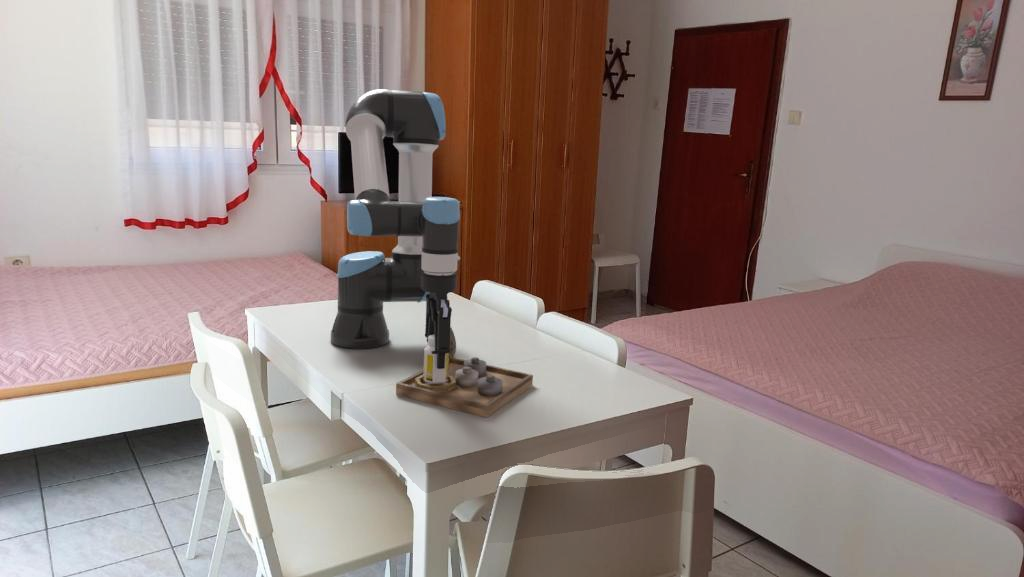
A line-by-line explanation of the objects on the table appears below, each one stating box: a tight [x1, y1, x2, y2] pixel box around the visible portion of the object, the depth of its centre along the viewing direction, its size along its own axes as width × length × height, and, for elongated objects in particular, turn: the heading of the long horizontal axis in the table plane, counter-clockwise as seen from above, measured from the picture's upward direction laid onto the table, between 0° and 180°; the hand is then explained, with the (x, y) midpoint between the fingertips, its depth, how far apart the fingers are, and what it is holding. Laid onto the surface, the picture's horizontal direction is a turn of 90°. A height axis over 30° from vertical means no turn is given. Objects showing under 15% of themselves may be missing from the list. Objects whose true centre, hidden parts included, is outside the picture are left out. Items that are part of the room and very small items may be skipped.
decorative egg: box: [449, 326, 457, 358], centre depth 171 cm, size 6×6×10 cm
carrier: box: [395, 356, 534, 418], centre depth 154 cm, size 22×22×5 cm
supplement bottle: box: [423, 335, 449, 384], centre depth 151 cm, size 5×5×10 cm
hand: (435, 376), depth 152 cm, fingers closed on supplement bottle, 5 cm apart
